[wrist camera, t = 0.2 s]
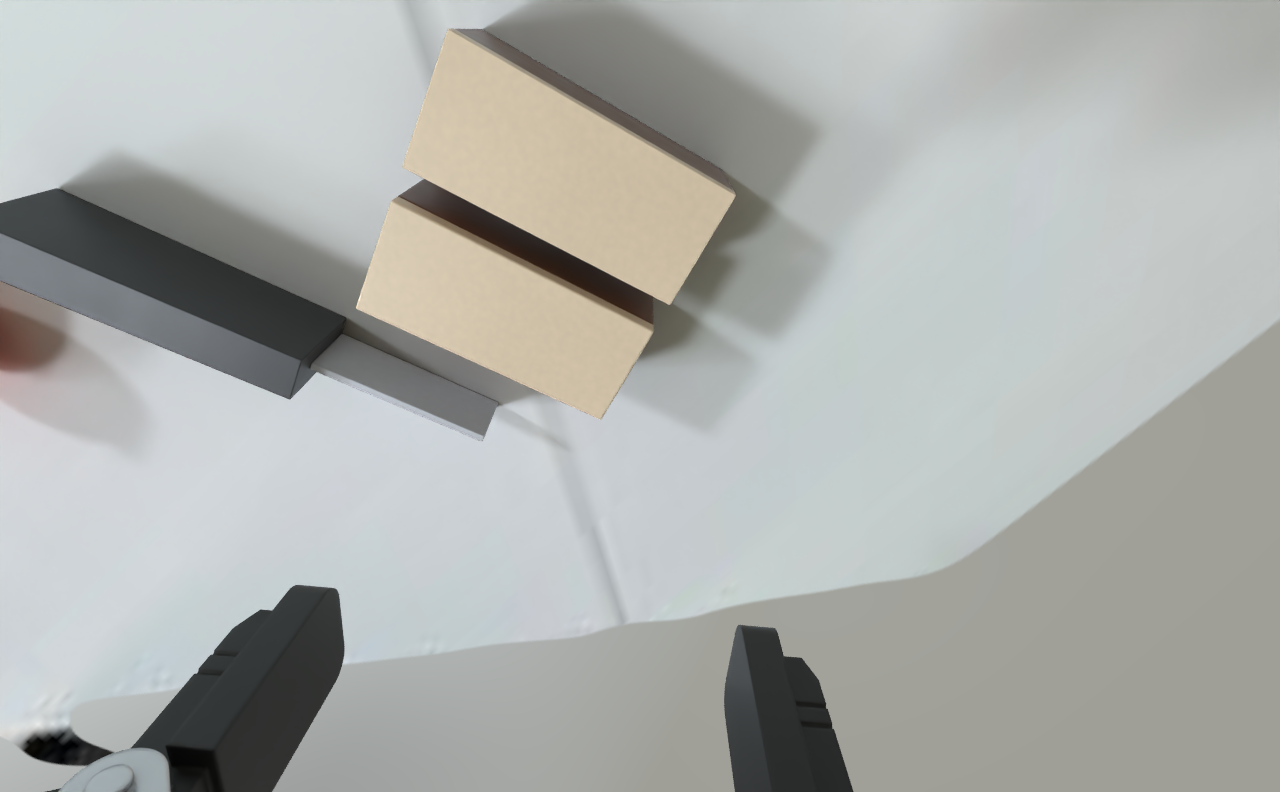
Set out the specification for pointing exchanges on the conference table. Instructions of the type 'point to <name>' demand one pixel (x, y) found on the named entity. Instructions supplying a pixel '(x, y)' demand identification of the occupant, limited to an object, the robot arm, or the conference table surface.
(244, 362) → the knife
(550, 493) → the conference table surface
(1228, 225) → the conference table surface
